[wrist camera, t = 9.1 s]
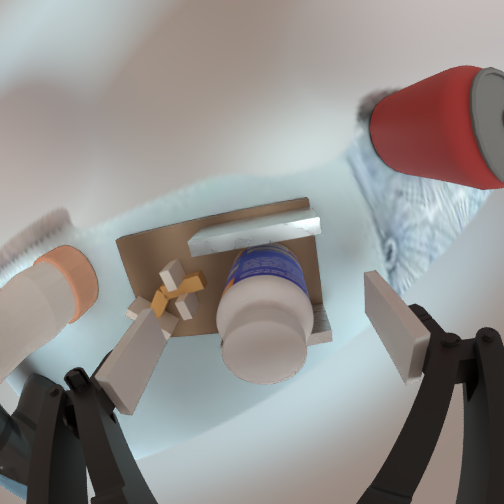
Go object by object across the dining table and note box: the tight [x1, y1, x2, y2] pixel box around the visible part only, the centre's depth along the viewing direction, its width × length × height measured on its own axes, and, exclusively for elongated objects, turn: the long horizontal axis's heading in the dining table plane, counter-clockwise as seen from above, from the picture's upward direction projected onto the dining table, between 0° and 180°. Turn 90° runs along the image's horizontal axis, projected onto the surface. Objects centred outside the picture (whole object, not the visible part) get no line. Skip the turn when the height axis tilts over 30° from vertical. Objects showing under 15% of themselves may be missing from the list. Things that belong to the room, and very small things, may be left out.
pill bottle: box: [216, 242, 314, 384], centre depth 16 cm, size 5×5×10 cm
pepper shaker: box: [0, 245, 98, 384], centre depth 15 cm, size 7×7×19 cm
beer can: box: [370, 66, 504, 190], centre depth 12 cm, size 7×7×12 cm
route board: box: [116, 197, 323, 337], centre depth 22 cm, size 16×10×1 cm, turn 102°
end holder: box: [188, 206, 332, 349], centre depth 19 cm, size 8×9×4 cm
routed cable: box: [125, 259, 207, 340], centre depth 21 cm, size 8×7×2 cm
